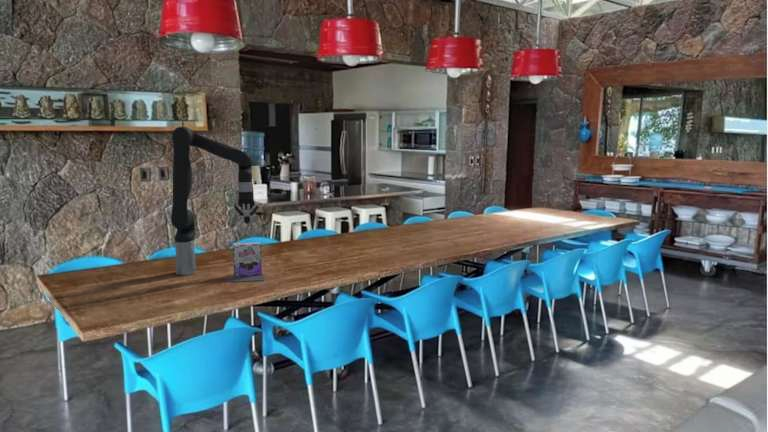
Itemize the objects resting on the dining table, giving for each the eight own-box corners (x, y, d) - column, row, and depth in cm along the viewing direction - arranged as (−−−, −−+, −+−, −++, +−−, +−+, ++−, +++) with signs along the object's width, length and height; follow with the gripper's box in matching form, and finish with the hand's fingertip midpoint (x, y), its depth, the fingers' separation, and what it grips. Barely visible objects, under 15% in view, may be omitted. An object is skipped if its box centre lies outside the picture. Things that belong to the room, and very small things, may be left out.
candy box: (234, 277, 272) (232, 245, 269) (234, 274, 277) (232, 243, 275) (262, 275, 276) (260, 243, 273) (261, 272, 281) (260, 241, 278)
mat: (226, 282, 262) (226, 281, 262) (228, 277, 271) (228, 277, 271) (264, 280, 265) (264, 280, 265) (265, 276, 273) (265, 275, 273)
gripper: (231, 191, 273) (233, 225, 276) (258, 191, 275) (259, 224, 278) (233, 189, 281) (235, 222, 283) (259, 189, 282) (260, 221, 285)
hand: (247, 223), depth 281 cm, fingers closed
